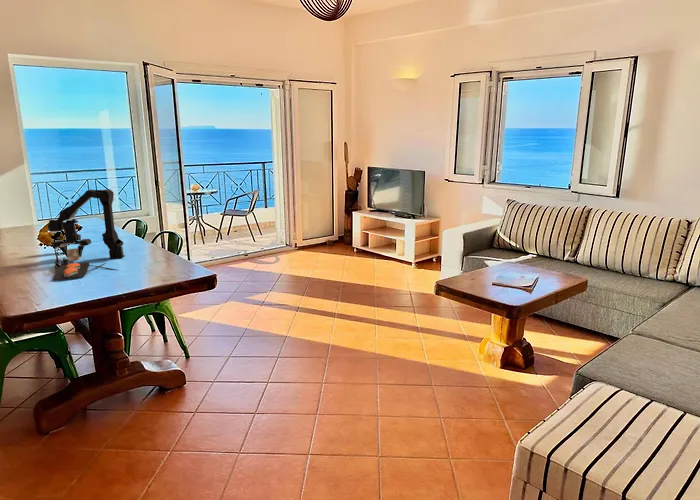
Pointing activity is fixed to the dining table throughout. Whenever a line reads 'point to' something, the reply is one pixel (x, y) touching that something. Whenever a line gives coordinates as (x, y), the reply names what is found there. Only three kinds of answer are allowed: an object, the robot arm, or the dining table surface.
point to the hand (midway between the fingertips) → (74, 257)
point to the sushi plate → (74, 270)
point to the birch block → (73, 254)
